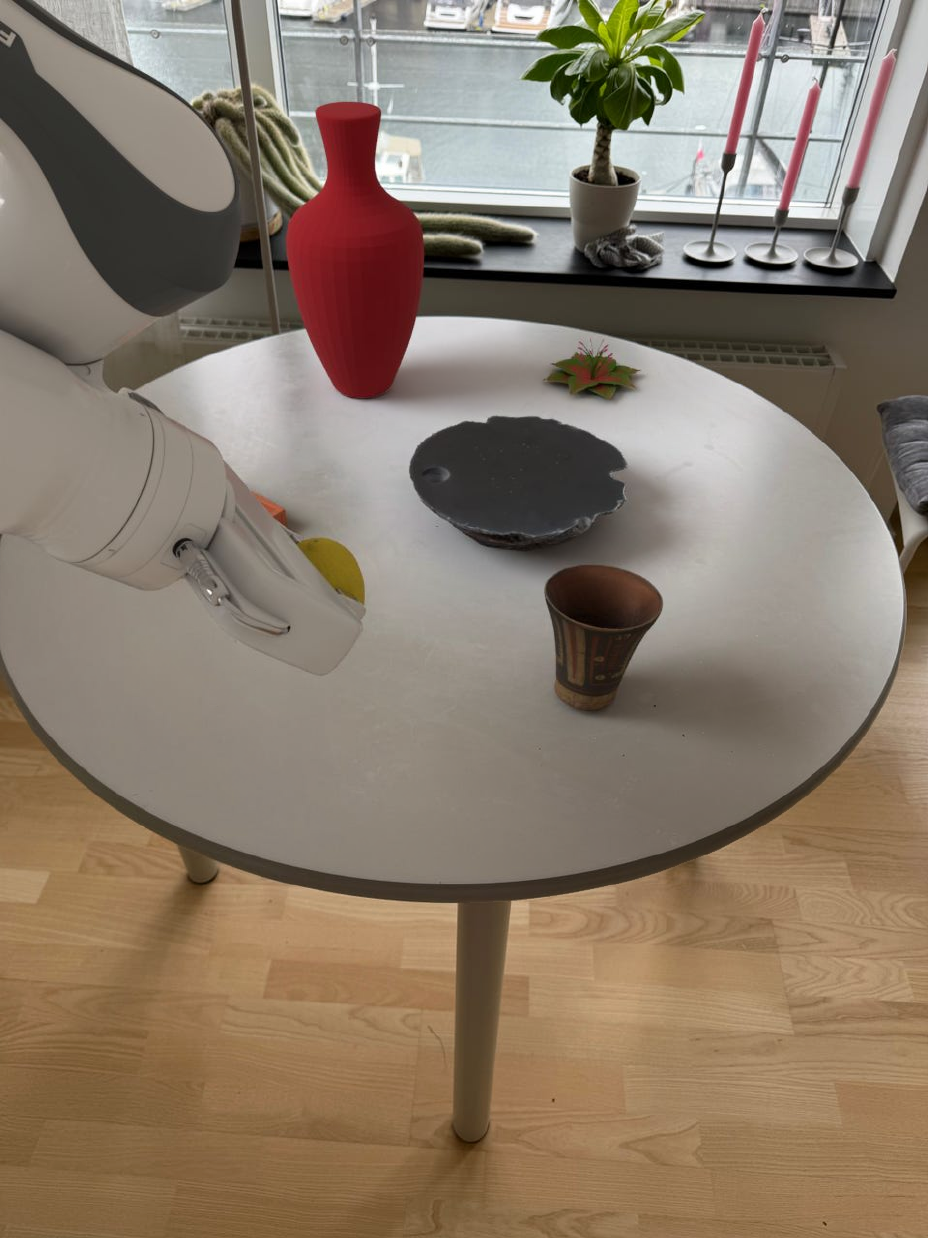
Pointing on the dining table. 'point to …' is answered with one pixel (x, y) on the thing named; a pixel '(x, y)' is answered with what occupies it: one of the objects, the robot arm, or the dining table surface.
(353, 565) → the lemon
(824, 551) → the dining table surface
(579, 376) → the lily flower
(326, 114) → the vase
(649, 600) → the cup
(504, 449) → the board
